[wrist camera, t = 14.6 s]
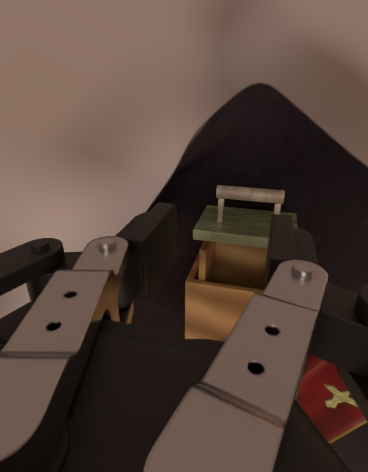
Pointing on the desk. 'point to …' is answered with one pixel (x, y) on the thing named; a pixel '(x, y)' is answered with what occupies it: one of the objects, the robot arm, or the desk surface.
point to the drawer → (237, 237)
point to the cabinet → (212, 306)
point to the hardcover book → (328, 400)
